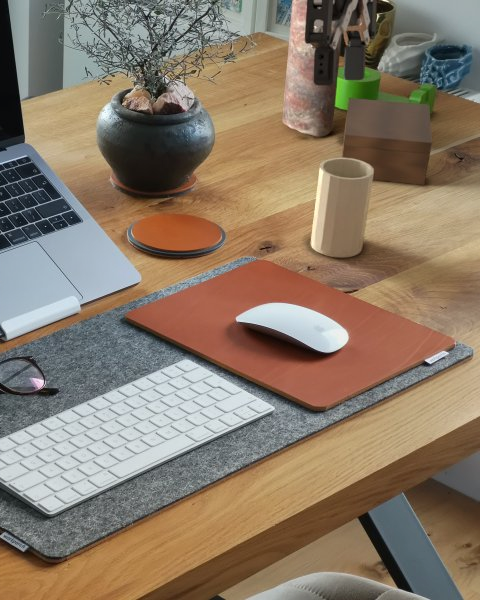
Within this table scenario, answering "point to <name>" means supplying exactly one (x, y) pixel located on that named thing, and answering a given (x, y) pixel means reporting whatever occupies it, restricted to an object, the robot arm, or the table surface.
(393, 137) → the dark walnut wood block
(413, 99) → the tape dispenser
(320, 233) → the pen cup
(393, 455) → the table surface
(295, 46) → the candle
